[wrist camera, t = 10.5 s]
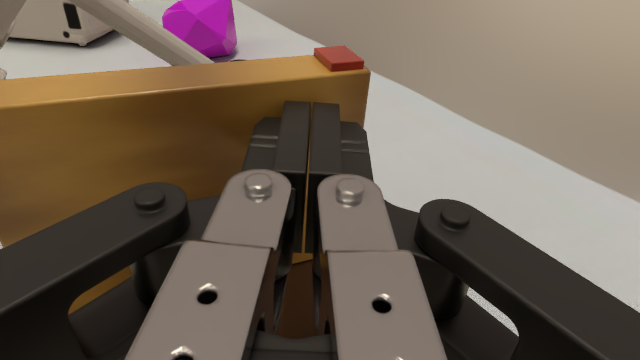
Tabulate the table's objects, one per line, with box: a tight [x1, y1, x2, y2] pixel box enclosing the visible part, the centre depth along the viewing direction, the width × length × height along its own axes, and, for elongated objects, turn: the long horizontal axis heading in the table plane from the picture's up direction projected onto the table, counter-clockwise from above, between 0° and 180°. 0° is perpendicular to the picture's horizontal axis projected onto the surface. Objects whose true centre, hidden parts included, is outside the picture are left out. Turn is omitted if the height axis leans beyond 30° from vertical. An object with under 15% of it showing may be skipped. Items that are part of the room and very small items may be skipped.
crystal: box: [162, 0, 237, 58], centre depth 37 cm, size 5×5×5 cm
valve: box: [0, 0, 245, 80], centre depth 23 cm, size 10×20×15 cm
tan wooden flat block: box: [0, 46, 371, 315], centre depth 13 cm, size 10×2×7 cm, turn 112°
